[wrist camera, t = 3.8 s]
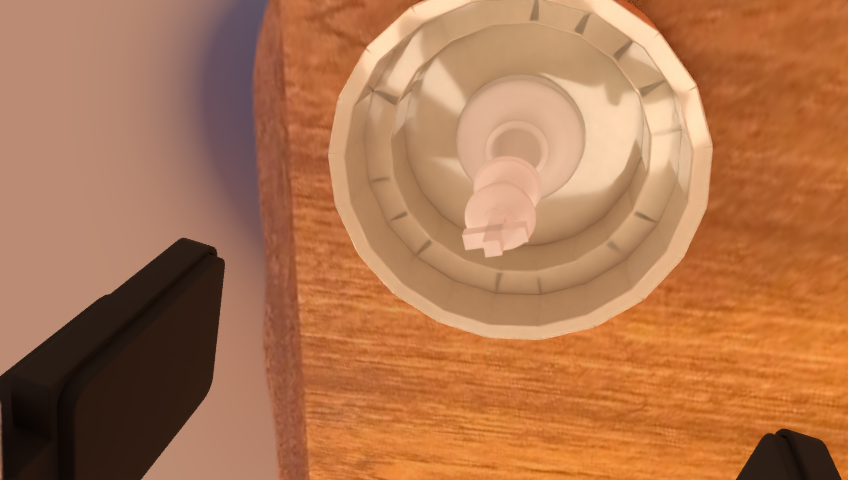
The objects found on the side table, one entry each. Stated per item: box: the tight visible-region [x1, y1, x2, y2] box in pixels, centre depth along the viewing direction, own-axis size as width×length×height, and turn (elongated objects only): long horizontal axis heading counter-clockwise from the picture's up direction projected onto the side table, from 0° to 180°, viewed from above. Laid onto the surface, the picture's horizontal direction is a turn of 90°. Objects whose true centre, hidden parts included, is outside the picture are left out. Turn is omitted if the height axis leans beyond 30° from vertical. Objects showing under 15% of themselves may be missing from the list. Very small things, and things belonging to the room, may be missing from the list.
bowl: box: [328, 0, 713, 340], centre depth 24 cm, size 12×12×5 cm
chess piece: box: [456, 74, 586, 257], centre depth 22 cm, size 5×5×10 cm
